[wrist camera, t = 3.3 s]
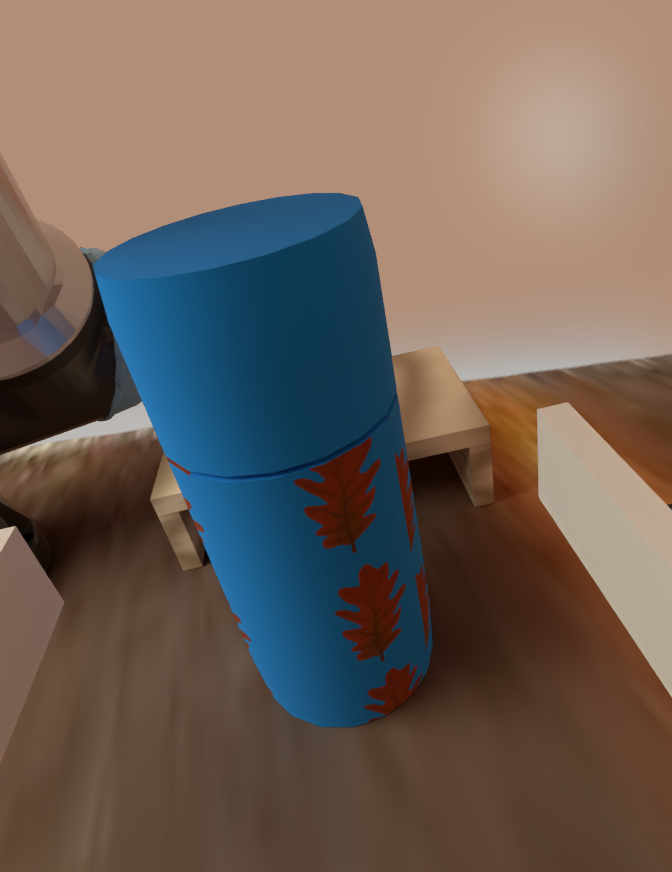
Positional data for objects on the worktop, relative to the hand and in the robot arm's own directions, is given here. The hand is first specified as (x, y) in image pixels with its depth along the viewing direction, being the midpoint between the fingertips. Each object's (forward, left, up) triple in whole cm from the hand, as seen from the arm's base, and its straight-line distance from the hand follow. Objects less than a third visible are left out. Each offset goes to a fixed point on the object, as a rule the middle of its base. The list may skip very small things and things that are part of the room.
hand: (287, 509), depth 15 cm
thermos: (-7, +10, -21) cm, 24 cm away
